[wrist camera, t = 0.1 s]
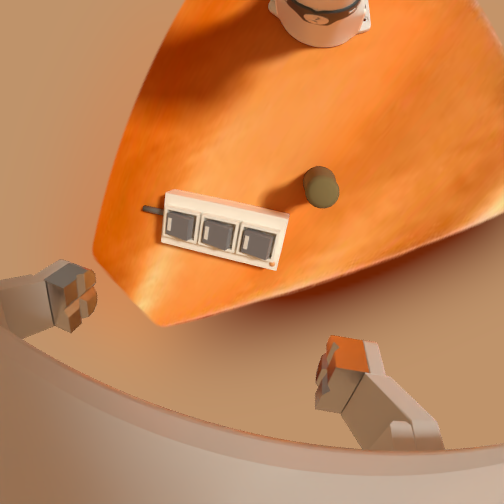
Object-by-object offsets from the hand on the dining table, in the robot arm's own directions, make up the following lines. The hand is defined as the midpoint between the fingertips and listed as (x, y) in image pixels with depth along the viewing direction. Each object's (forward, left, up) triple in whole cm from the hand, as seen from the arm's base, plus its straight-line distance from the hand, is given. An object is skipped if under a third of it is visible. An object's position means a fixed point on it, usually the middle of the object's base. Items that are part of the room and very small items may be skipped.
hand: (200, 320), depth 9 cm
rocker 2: (+13, -9, -42) cm, 45 cm away
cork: (+1, +6, -48) cm, 48 cm away
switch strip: (+13, -12, -48) cm, 51 cm away
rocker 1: (+13, -17, -42) cm, 47 cm away
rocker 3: (+13, -2, -42) cm, 44 cm away
